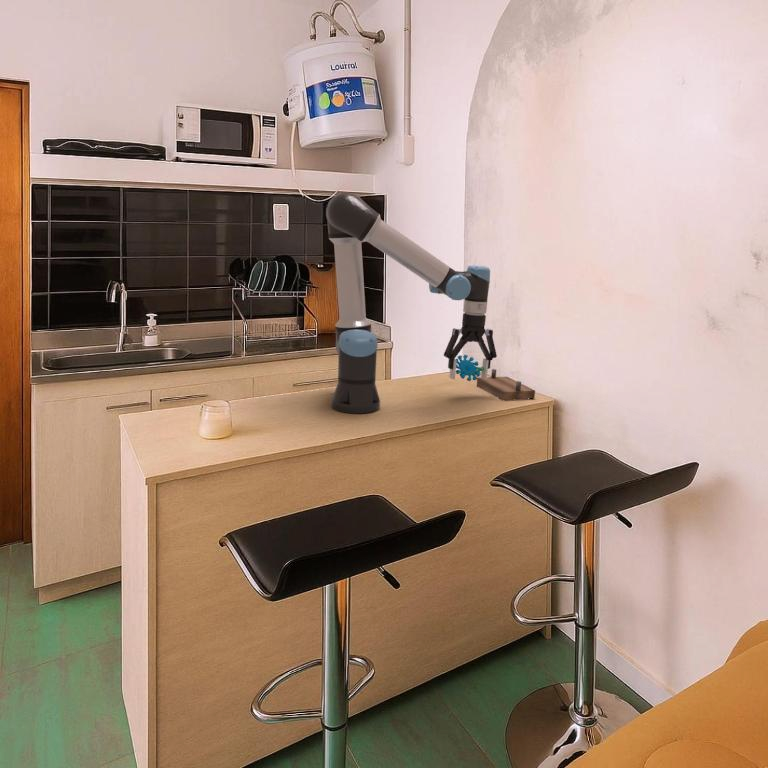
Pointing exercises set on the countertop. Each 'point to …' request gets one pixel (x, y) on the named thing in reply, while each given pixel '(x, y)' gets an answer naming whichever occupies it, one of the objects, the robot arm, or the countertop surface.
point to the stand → (505, 387)
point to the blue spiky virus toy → (468, 368)
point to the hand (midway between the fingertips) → (468, 378)
